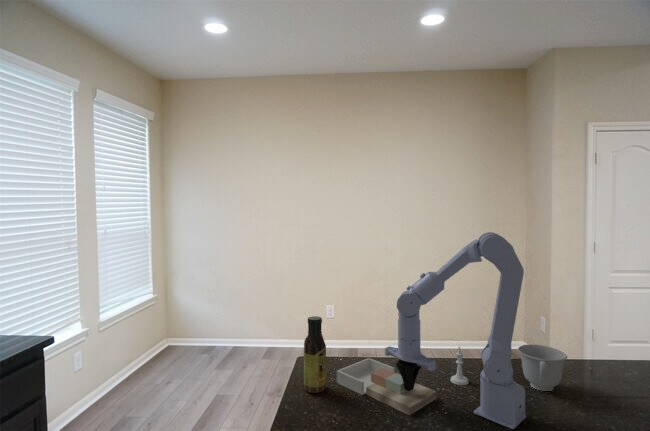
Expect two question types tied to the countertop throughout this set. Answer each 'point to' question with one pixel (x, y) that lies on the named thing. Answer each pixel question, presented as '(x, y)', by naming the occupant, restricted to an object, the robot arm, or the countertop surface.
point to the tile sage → (395, 383)
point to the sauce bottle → (314, 357)
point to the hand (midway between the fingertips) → (409, 389)
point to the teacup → (542, 366)
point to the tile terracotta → (380, 376)
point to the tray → (360, 374)
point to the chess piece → (459, 371)
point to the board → (403, 397)
